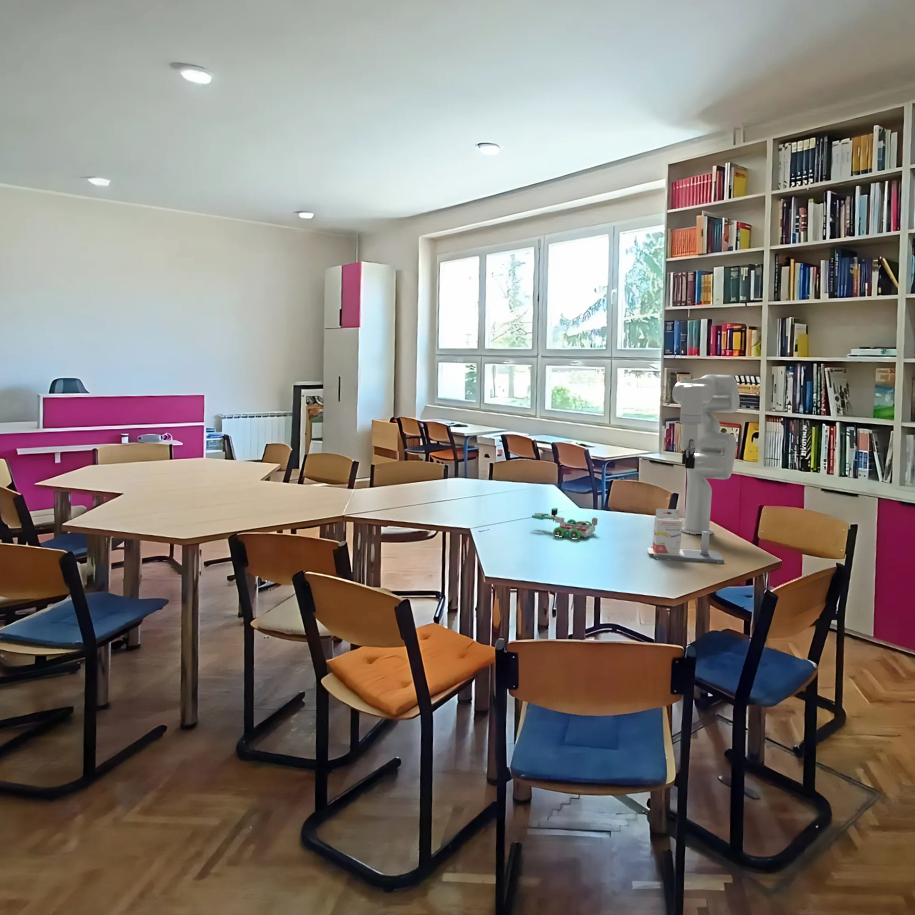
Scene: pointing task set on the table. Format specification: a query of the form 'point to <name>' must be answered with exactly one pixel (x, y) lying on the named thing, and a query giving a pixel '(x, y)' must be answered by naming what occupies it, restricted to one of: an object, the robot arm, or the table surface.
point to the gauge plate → (692, 553)
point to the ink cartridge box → (667, 531)
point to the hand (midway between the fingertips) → (687, 466)
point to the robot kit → (568, 525)
